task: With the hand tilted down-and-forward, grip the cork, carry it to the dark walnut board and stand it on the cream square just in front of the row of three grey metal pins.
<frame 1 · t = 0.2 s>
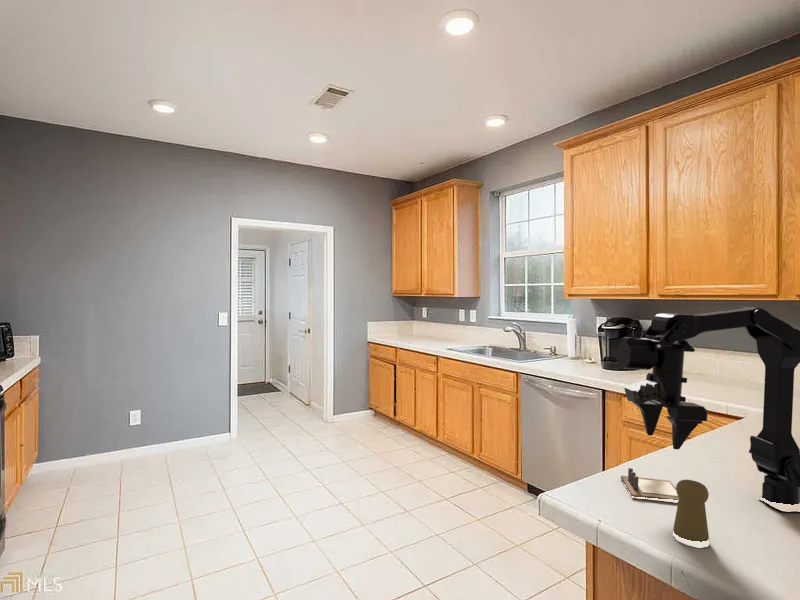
hand: (662, 441, 100), 14 cm above the counter, tool pointing down, fingers open, 9 cm apart
cork: (690, 540, 87), on the counter
pin board: (651, 491, 108), on the counter
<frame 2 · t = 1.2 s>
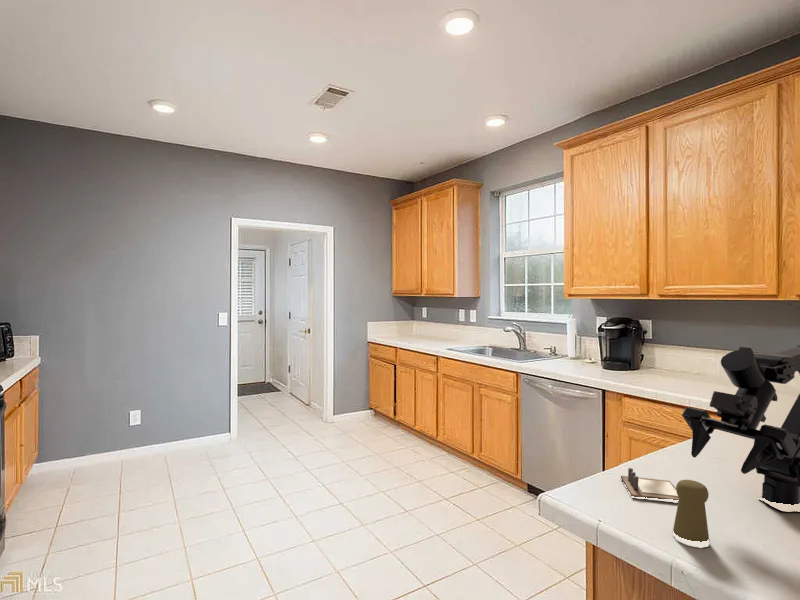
hand: (716, 463, 90), 13 cm above the counter, tool tilted 45°, fingers open, 9 cm apart
nothing on the counter moved.
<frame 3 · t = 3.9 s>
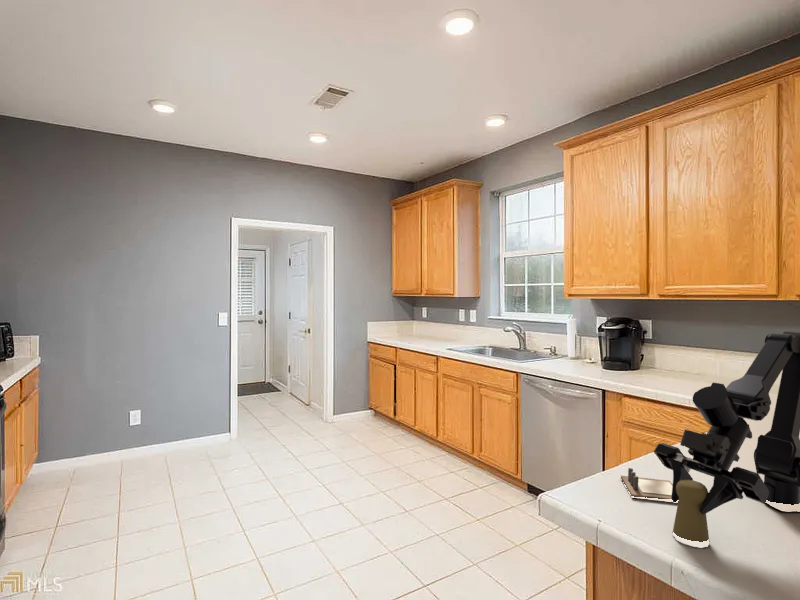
hand: (687, 506, 86), 7 cm above the counter, tool tilted 45°, fingers closed on cork, 5 cm apart
cork: (690, 540, 87), on the counter, touching gripper
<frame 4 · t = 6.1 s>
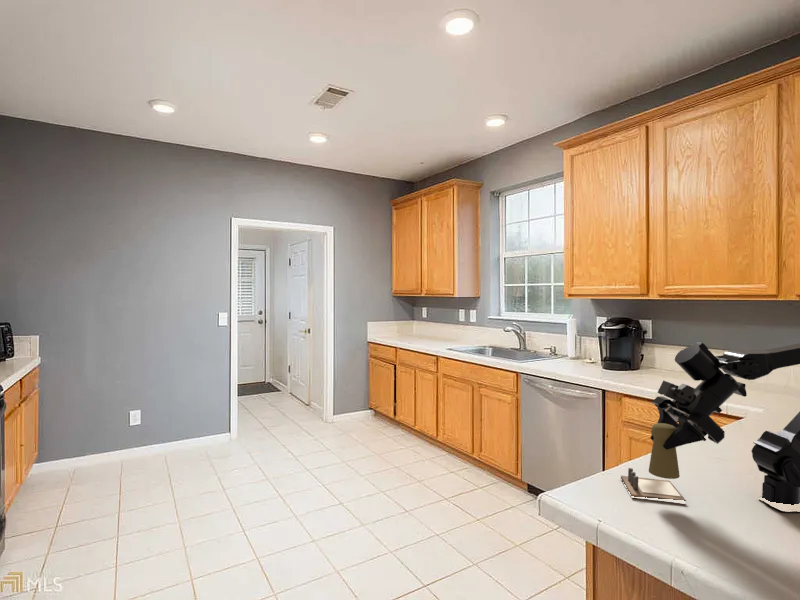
hand: (658, 443, 102), 13 cm above the counter, tool tilted 45°, fingers closed on cork, 5 cm apart
cork: (663, 474, 102), point 6 cm above the counter, touching gripper
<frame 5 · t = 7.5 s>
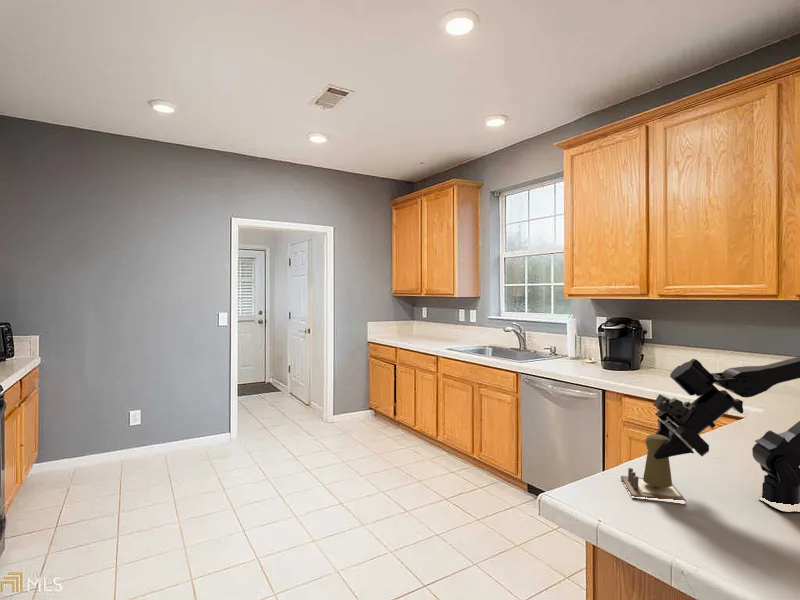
hand: (651, 453, 108), 9 cm above the counter, tool tilted 45°, fingers closed on cork, 5 cm apart
cork: (657, 483, 107), point 2 cm above the counter, touching gripper
when the fingers open (8 cm above the counter, at t = 8.2 s): cork stays where it is, resting on pin board.
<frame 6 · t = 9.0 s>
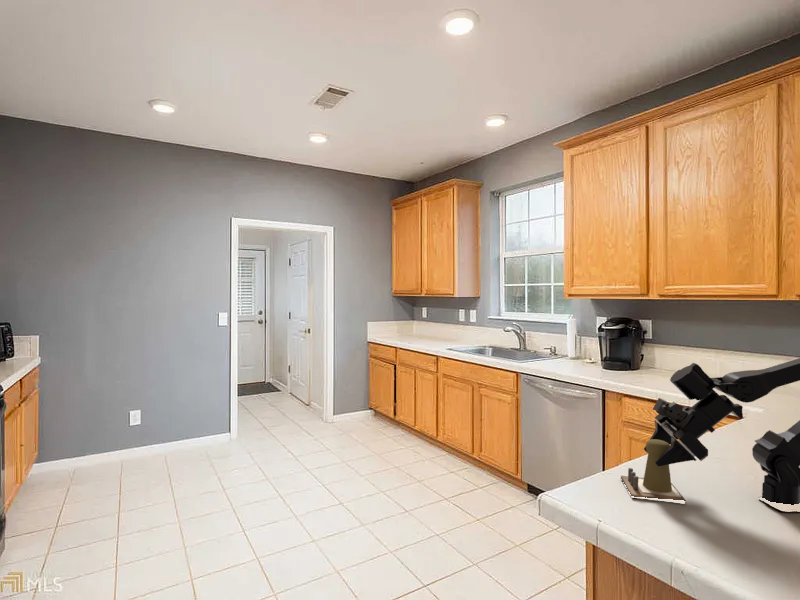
hand: (650, 457, 108), 8 cm above the counter, tool tilted 45°, fingers open, 9 cm apart
cork: (657, 487, 107), point 1 cm above the counter, touching pin board
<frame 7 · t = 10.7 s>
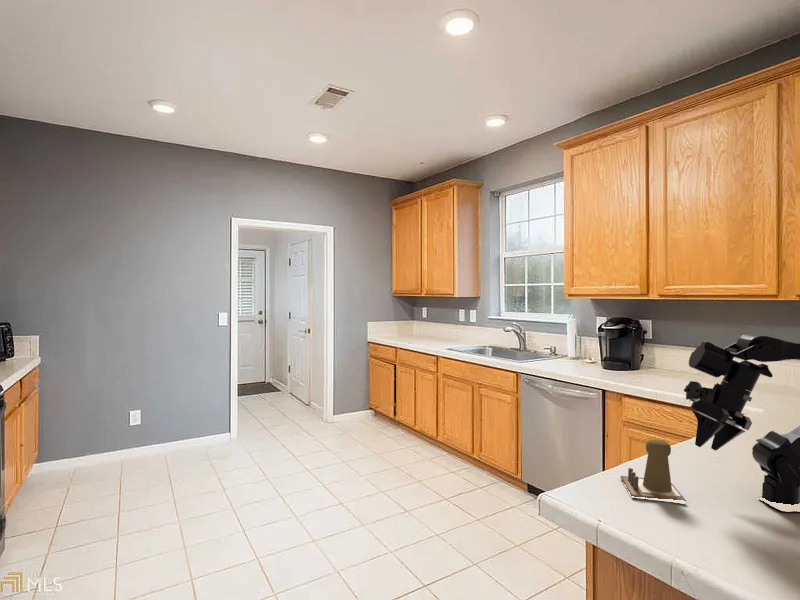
hand: (705, 447, 104), 12 cm above the counter, tool tilted 20°, fingers open, 9 cm apart
nothing on the counter moved.
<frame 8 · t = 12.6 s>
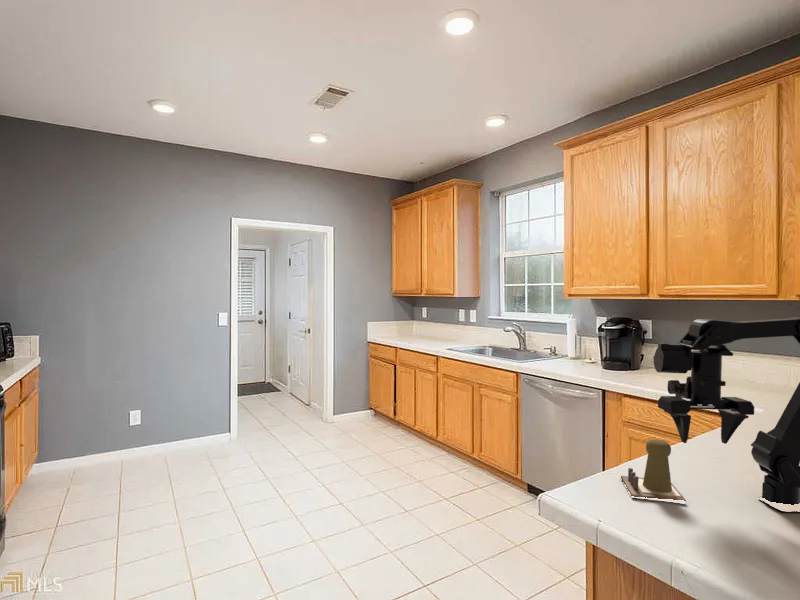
hand: (704, 442, 104), 13 cm above the counter, tool pointing down, fingers open, 9 cm apart
nothing on the counter moved.
at the end: cork inside the target area on the pin board (0.4 cm from its centre), point 1.0 cm above the pin board's base; cork tilted 0°; the gripper is holding nothing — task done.
